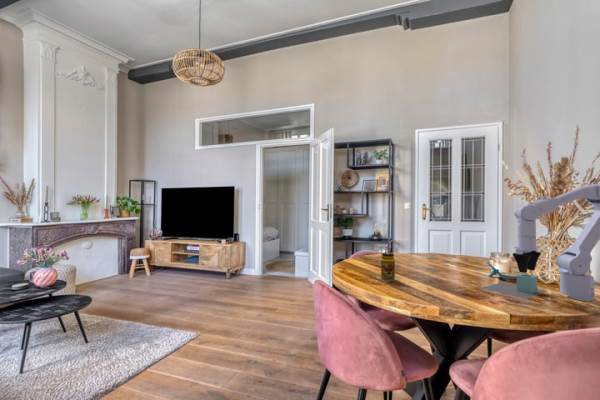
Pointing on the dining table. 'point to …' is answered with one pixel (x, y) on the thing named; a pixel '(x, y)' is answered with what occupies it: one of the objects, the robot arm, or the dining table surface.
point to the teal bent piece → (495, 271)
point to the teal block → (527, 283)
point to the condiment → (387, 267)
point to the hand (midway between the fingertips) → (527, 271)
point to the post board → (511, 290)
